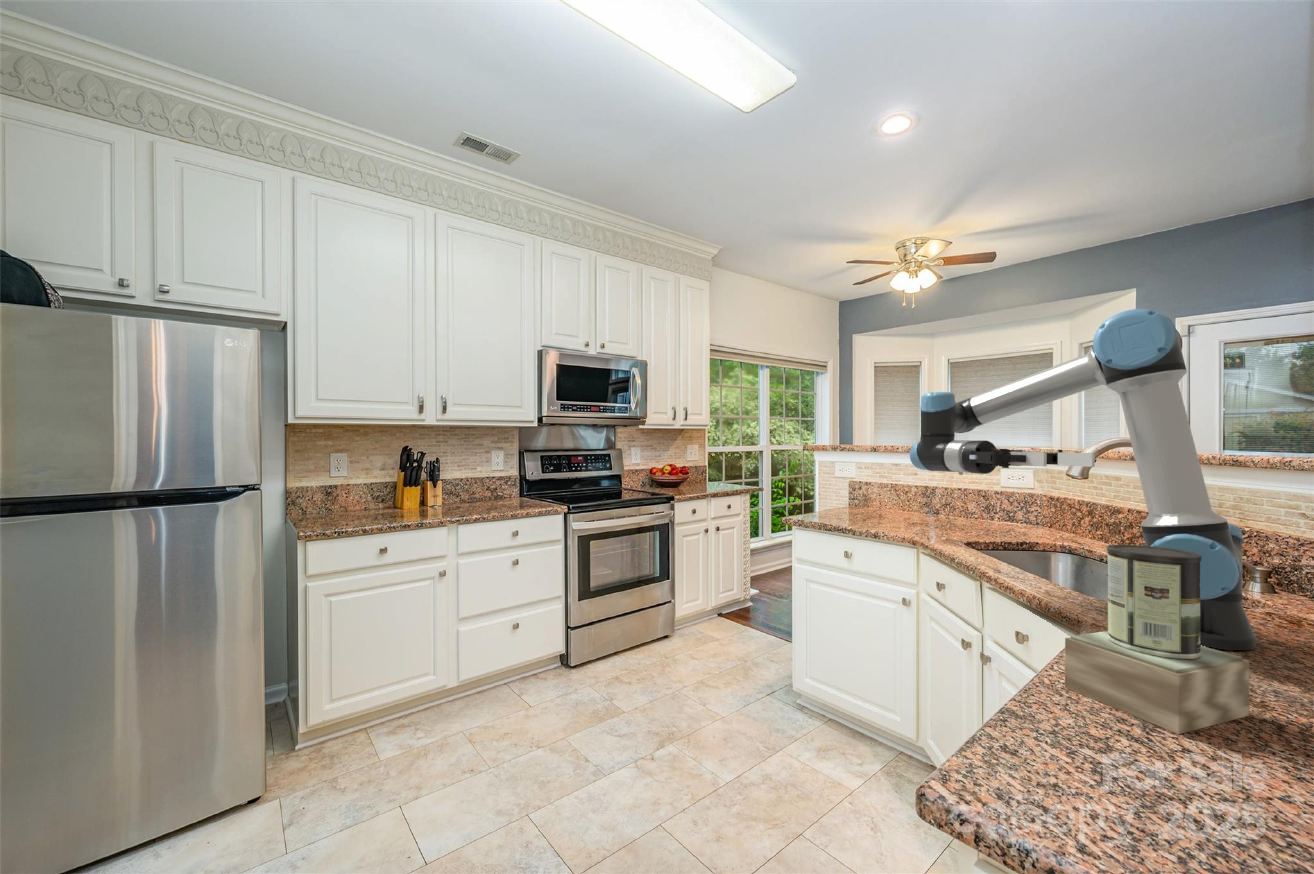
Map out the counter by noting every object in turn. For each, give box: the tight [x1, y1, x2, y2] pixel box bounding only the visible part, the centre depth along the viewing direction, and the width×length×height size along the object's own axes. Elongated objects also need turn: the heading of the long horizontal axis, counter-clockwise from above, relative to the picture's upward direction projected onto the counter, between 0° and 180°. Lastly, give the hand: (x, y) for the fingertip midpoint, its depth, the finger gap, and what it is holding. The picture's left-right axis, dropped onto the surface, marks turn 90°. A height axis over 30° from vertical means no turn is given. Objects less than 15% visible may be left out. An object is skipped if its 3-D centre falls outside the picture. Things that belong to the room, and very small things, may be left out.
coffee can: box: [1106, 544, 1202, 659], centre depth 79 cm, size 10×10×14 cm
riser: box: [1064, 630, 1250, 735], centre depth 79 cm, size 16×14×8 cm
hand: (1070, 459), depth 103 cm, fingers open, 13 cm apart
